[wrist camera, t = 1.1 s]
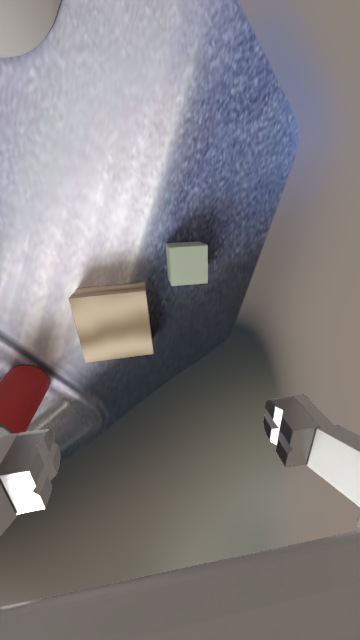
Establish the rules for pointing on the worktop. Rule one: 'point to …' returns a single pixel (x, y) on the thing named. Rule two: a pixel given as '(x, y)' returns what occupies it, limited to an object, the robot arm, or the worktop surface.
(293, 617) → the robot arm
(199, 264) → the sage block
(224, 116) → the worktop surface
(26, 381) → the beer can
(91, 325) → the birch block
